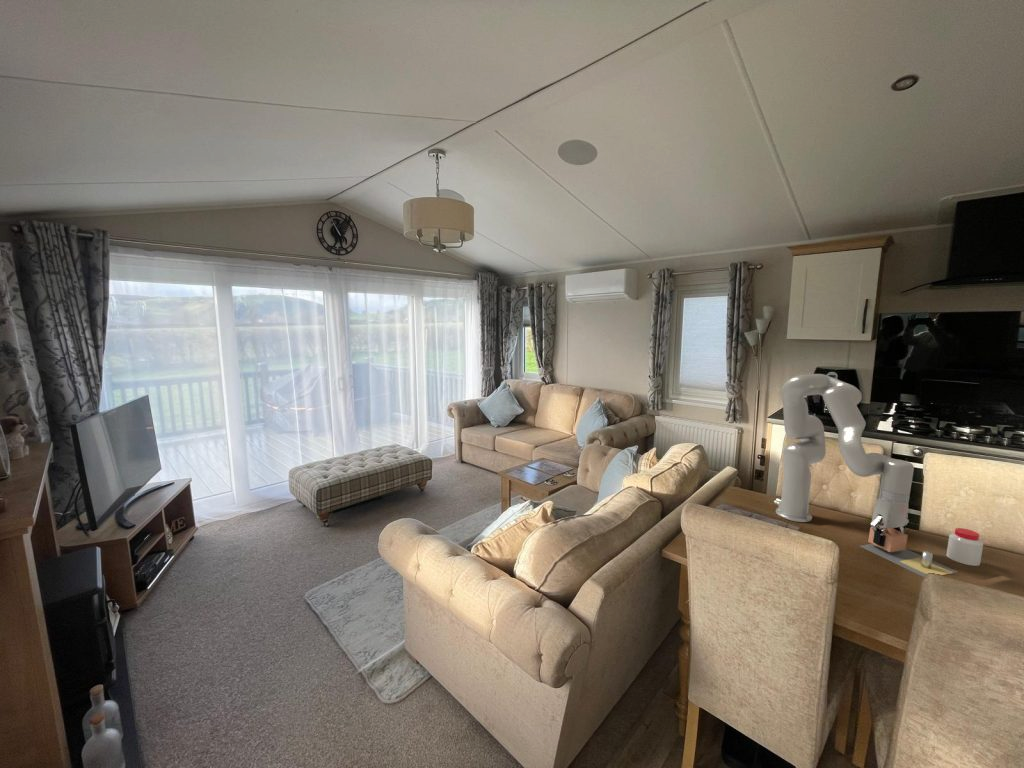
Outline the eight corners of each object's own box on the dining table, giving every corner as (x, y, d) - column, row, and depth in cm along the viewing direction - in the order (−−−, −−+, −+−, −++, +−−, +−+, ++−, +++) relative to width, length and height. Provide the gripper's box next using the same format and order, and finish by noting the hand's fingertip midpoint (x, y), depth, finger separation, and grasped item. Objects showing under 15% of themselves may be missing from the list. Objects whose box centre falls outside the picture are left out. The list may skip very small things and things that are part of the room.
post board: (858, 549, 147) (860, 532, 147) (888, 544, 151) (890, 528, 150) (926, 581, 128) (928, 563, 127) (958, 575, 131) (960, 557, 131)
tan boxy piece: (868, 541, 147) (870, 527, 147) (882, 539, 149) (885, 525, 148) (890, 552, 141) (892, 537, 140) (905, 549, 142) (907, 534, 142)
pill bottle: (974, 571, 134) (979, 539, 132) (941, 559, 140) (946, 529, 139) (983, 565, 137) (988, 534, 136) (950, 554, 144) (955, 524, 143)
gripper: (900, 488, 148) (893, 535, 150) (863, 493, 144) (856, 540, 146) (925, 497, 141) (917, 545, 143) (887, 502, 136) (879, 552, 139)
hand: (886, 542), depth 145 cm, fingers closed on tan boxy piece, 7 cm apart
